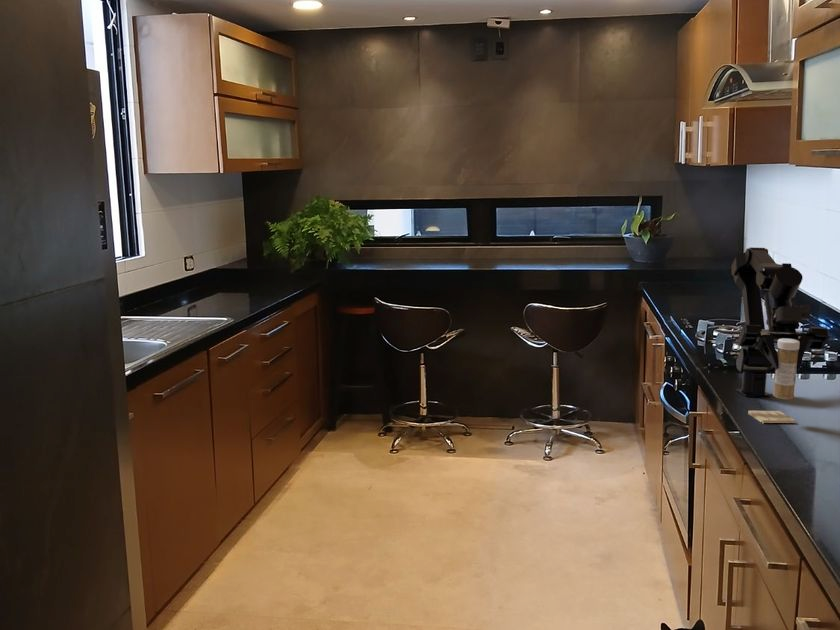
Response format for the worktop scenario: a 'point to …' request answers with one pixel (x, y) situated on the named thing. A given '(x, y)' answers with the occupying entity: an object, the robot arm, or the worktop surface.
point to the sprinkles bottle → (786, 368)
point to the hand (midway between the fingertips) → (787, 368)
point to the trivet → (771, 417)
